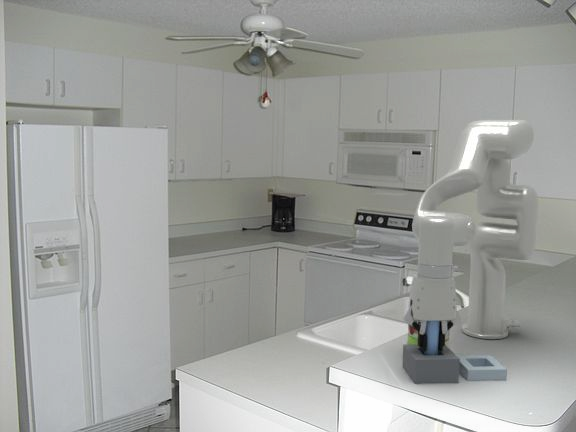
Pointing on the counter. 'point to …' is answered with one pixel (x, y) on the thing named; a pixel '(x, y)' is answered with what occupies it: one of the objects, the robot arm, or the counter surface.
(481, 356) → the square frame plate
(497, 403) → the counter surface
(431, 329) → the plug
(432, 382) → the port
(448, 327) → the robot arm
